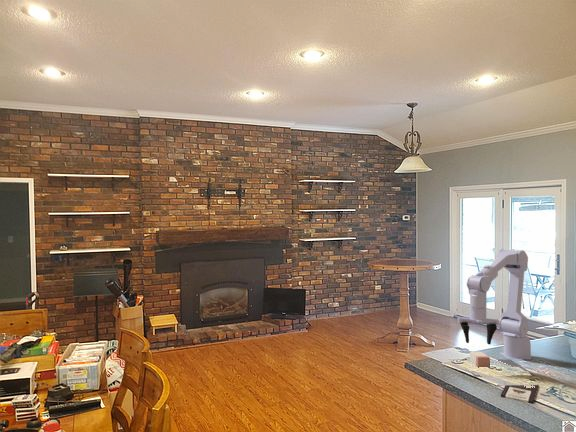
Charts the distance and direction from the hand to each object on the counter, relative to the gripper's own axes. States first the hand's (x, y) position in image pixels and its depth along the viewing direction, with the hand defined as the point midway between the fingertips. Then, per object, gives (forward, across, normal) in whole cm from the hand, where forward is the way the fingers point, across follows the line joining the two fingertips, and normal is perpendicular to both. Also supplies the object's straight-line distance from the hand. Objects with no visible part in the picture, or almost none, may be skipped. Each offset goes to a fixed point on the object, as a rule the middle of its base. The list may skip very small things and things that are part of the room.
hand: (477, 343), depth 160 cm
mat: (+10, +6, 0) cm, 11 cm away
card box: (+9, +1, +2) cm, 9 cm away
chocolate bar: (+11, +9, -20) cm, 24 cm away
